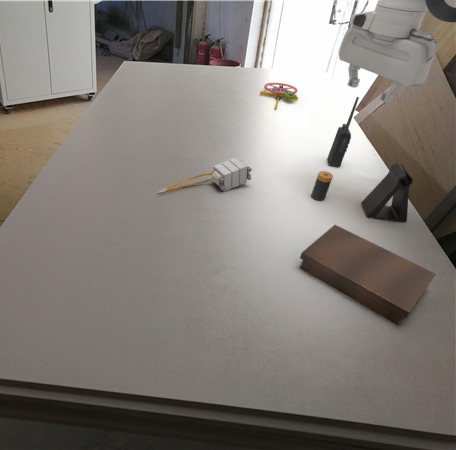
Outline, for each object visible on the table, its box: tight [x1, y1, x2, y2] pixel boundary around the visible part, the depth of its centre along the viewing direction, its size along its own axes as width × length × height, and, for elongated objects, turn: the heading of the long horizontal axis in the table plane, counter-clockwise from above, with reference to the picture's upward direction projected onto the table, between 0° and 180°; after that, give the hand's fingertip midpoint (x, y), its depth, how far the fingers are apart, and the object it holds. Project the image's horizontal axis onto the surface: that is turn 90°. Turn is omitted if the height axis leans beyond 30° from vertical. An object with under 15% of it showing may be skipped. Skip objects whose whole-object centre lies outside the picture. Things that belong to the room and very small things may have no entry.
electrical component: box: [157, 157, 253, 194], centre depth 101 cm, size 24×6×5 cm, turn 115°
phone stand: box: [360, 162, 414, 223], centre depth 94 cm, size 9×6×12 cm, turn 80°
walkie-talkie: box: [326, 96, 360, 168], centre depth 112 cm, size 5×3×20 cm
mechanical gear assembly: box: [259, 82, 299, 110], centre depth 160 cm, size 30×4×15 cm
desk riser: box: [299, 224, 437, 325], centre depth 78 cm, size 20×14×4 cm
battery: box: [310, 170, 334, 202], centre depth 100 cm, size 3×3×7 cm
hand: (368, 93), depth 88 cm, fingers open, 8 cm apart
